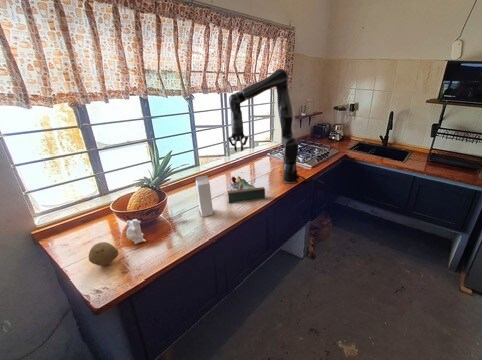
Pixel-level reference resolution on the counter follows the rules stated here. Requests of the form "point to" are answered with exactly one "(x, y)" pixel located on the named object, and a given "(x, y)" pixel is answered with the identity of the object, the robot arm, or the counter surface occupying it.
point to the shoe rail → (246, 194)
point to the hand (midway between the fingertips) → (239, 151)
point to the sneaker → (239, 184)
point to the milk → (204, 195)
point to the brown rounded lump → (102, 254)
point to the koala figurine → (134, 231)
